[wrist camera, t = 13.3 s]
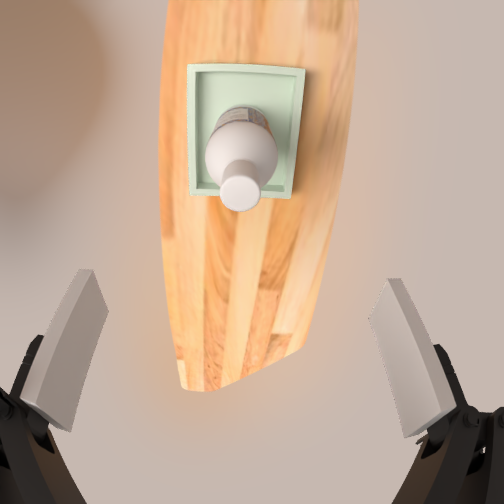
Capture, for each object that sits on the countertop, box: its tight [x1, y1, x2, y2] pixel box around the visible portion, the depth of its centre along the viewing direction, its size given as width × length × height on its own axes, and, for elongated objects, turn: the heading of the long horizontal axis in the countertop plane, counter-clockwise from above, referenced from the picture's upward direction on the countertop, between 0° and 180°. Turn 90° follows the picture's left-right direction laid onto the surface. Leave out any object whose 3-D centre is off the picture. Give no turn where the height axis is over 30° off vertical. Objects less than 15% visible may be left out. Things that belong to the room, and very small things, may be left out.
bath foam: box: [205, 105, 278, 212], centre depth 28 cm, size 7×7×20 cm
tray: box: [187, 63, 306, 199], centre depth 36 cm, size 18×14×3 cm
